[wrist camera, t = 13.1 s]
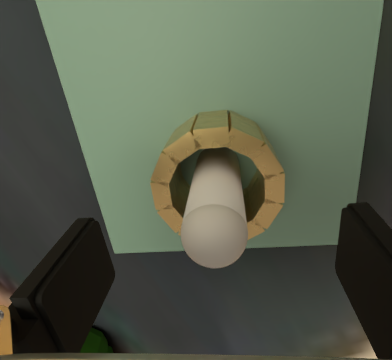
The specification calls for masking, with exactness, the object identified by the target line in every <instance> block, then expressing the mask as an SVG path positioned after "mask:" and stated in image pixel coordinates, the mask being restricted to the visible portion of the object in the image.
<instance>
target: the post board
mask: <svg viewBox="0 0 392 360" xmlns="http://www.w3.org/2000/svg"><path fill="white" fill-rule="evenodd" d="M36 3H37V7H38V10H39V13H40V16H41V19H42V23H43V26H44V29H45V32H46V35H47V39H48V42H49V45H50V48H51V52H52V55H53V58H54V61H55V64H56V68H57V71H58V74H59V77H60V80H61V84H62V87H63V90H64V93H65V96H66V100H67V103H68V106H69V109H70V112H71V116H72V119H73V122H74V125H75V128H76V132H77V135H78V138H79V141H80V144H81V148H82V151H83V154H84V157H85V160H86V164H87V167H88V170H89V173H90V176H91V180H92V183H93V186H94V189H95V192H96V196H97V199H98V202H99V205H100V208H101V212H102V215H103V218H104V221H105V224H106V228H107V231H108V234H109V237H110V240H111V244H112V247H113V250H114V253H139V252H164V251H186V253H187V254H188V256H189V257H190V258H191V259H192V260H193V261H195V262H196V263H198V264H199V265H202V266H204V267H208V268H222V267H225V266H228V265H230V264H232V263H233V262H235V261H236V260H237V259H238V258H239V257H240V256H241V255H242V253H243V251H244V250H245V248H264V247H289V246H315V245H338V237H339V228H340V220H341V211H342V208H346V207H347V205H348V204H349V203H356V199H357V192H358V185H359V178H360V170H361V163H362V156H363V149H364V141H365V134H366V127H367V119H368V112H369V105H370V98H371V90H372V83H373V76H374V68H375V61H376V54H377V47H378V39H379V32H380V25H381V18H382V10H383V3H384V0H36ZM219 110H227V113H229V111H230V110H231V111H233V112H235V113H237V114H240V115H242V116H244V117H246V118H248V119H250V120H253V121H255V122H256V124H258V125H259V127H260V128H261V130H262V131H263V133H264V135H265V136H266V138H267V139H268V141H269V142H270V144H271V145H272V147H273V149H274V151H275V153H276V155H277V157H278V159H279V161H280V163H281V165H282V168H283V170H284V173H285V194H284V203H283V207H282V208H281V210H280V211H279V213H278V214H277V216H276V217H275V219H274V220H273V222H272V223H271V225H270V226H269V227H268V229H265V228H264V229H265V231H264V232H262V233H260V234H259V235H257V236H255V237H253V238H251V239H249V240H248V228H247V221H246V213H245V206H244V198H243V189H245V188H247V187H248V185H249V183H250V181H251V180H252V178H253V176H254V175H255V173H256V171H257V167H256V165H255V164H254V162H253V161H252V159H251V158H249V157H247V156H245V155H243V154H241V153H238V152H236V151H234V150H232V149H229V148H227V147H220V148H208V149H199V150H197V151H196V152H194V153H193V154H191V155H190V156H188V157H187V158H185V159H184V160H182V161H181V162H180V164H181V171H182V176H183V178H184V179H185V180H186V181H187V182H188V184H189V185H190V186H191V188H190V192H189V196H188V200H187V204H186V209H185V213H184V217H183V221H182V226H181V236H180V235H178V232H179V231H178V232H177V233H175V232H174V231H173V230H172V229H171V228H170V226H169V225H168V224H167V223H166V222H165V221H164V220H163V219H162V218H161V216H160V215H159V214H158V213H157V211H158V210H156V209H155V205H154V200H153V195H152V190H151V185H150V182H151V180H150V179H151V177H152V174H153V172H154V169H155V167H156V164H157V162H158V159H159V157H160V154H161V152H162V150H163V149H164V147H165V145H166V143H167V142H168V140H169V138H170V137H171V135H172V133H173V132H174V131H175V129H176V128H178V127H179V126H180V125H182V124H183V123H184V122H186V121H187V120H189V119H190V118H191V117H193V116H194V115H195V114H198V115H199V112H209V111H219Z"/></svg>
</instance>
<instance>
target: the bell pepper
mask: <svg viewBox="0 0 392 360" xmlns="http://www.w3.org/2000/svg"><path fill="white" fill-rule="evenodd" d="M80 353H113V350H112V347H110V346H108V343H107V340H106V338H105V336H104V335H103V333H102V332H101V331H98V330H96V329H94V328H91V330H90V332H89V334H88V336H87V338H86V340H85V342H84V344H83V347H82V349H81V351H80Z"/></svg>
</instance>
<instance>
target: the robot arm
mask: <svg viewBox="0 0 392 360" xmlns="http://www.w3.org/2000/svg"><path fill="white" fill-rule="evenodd" d="M335 269H336V273H337V276H338V278H339V280H340V282H341V284H342V286H343V288H344V290H345V292H346V294H347V296H348V298H349V300H350V303H351V305H352V307H353V309H354V311H355V313H356V315H357V317H358V319H359V321H360V323H361V325H362V327H363V329H364V331H365V333H366V335H367V337H368V339H369V341H370V344H371V346H372V348H373V350H374V352H375V354H376V356H377V358H378V359H365V358H339V357H301V356H255V355H201V354H131V353H80V351H81V349H82V347H83V344H84V342H85V340H86V338H87V336H88V334H89V332H90V330H91V328H92V325H93V323H94V321H95V319H96V317H97V315H98V313H99V311H100V309H101V306H102V304H103V302H104V300H105V298H106V296H107V294H108V292H109V289H110V287H111V285H112V283H113V281H114V278H115V271H114V267H113V264H112V261H111V258H110V255H109V252H108V249H107V246H106V243H105V240H104V237H103V234H102V231H101V228H100V225H99V222H98V221H95V220H94V219H93V218H79V219H77V220H76V221H75V222H74V223H73V224H72V225H71V227H70V228H69V229H68V230H67V231H66V232H65V234H64V235H63V236H62V237H61V238H60V239H59V241H58V242H57V243H56V244H55V245H54V247H53V248H52V249H51V250H50V251H49V252H48V254H47V255H46V256H45V257H44V258H43V259H42V261H41V262H40V263H39V264H38V265H37V266H36V268H35V269H34V270H33V271H32V272H31V274H30V275H29V276H28V277H27V278H26V279H25V281H24V282H23V283H22V284H21V285H20V286H19V288H18V289H17V290H16V291H15V292H14V293H13V295H12V296H11V297H10V300H11V302H12V304H11V305H10V306H9V307H6V306H4V305H0V360H392V229H391V228H390V227H389V226H388V225H387V224H386V223H385V222H384V220H383V219H382V218H381V217H380V216H379V215H378V214H377V213H376V212H375V210H374V209H373V208H372V207H371V206H370V205H369V204H368V203H366V202H363V203H349V204H348V205H347V207H346V208H342V211H341V220H340V228H339V237H338V245H337V254H336V262H335Z"/></svg>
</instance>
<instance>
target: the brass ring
mask: <svg viewBox="0 0 392 360" xmlns="http://www.w3.org/2000/svg"><path fill="white" fill-rule="evenodd" d="M220 147H227V148H229V149H232V150H234V151H236V152H238V153H241V154H243V155H245V156H247V157H249V158H251V159H252V161H253V162H254V164H255V165H256V167H257V171H256V173H255V175H254V176H253V178H252V180H251V181H250V183H249V185H248V187H247V188H245V189H243V198H244V206H245V213H246V221H247V228H248V240H249V239H251V238H253V237H255V236H257V235H259V234H260V233H262V232H264V231H265V229H268V227H269V226H270V225H271V223H272V222H273V220H274V219H275V217H276V216H277V214H278V213H279V211H280V210H281V208H282V207H283V203H284V194H285V173H284V170H283V168H282V165H281V163H280V161H279V159H278V157H277V155H276V153H275V151H274V149H273V147H272V145H271V144H270V142H269V141H268V139H267V138H266V136H265V135H264V133H263V131H262V130H261V128H260V127H259V125H258V124H256V122H255V121H253V120H250V119H248V118H246V117H244V116H242V115H240V114H237V113H235V112H233V111H231V110H230V111H229V113H227V110H219V111H209V112H199V115H198V114H195V115H194V116H193V117H191V118H190V119H189V120H187V121H186V122H184V123H183V124H182V125H180V126H179V127H178V128H176V129H175V131H174V132H173V133H172V135H171V137H170V138H169V140H168V142H167V143H166V145H165V147H164V149H163V150H162V152H161V154H160V157H159V159H158V162H157V164H156V167H155V169H154V172H153V174H152V177H151V179H150V180H151V182H150V185H151V190H152V195H153V200H154V205H155V209H156V210H158V211H157V213H158V214H159V215H160V216H161V218H162V219H163V220H164V221H165V222H166V223H167V224H168V225H169V226H170V228H171V229H172V230H173V231H174V232H175V233H177V232H178V231H179V232H178V235H180V236H181V226H182V221H183V217H184V213H185V209H186V204H187V200H188V196H189V192H190V188H191V186H190V185H189V184H188V182H187V181H186V180H185V179H184V178H183V176H182V171H181V164H180V162H181V161H182V160H184V159H185V158H187V157H188V156H190V155H191V154H193V153H194V152H196V151H197V150H199V149H208V148H220ZM264 228H265V229H264Z"/></svg>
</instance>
